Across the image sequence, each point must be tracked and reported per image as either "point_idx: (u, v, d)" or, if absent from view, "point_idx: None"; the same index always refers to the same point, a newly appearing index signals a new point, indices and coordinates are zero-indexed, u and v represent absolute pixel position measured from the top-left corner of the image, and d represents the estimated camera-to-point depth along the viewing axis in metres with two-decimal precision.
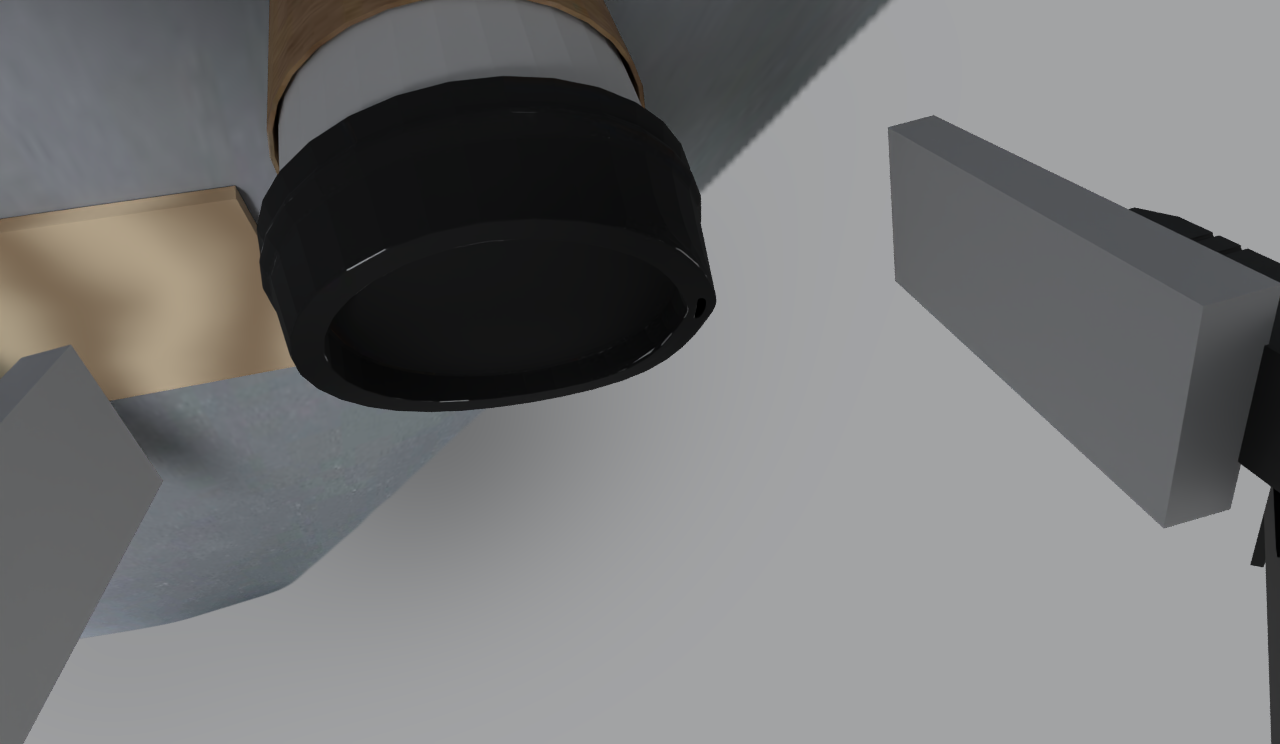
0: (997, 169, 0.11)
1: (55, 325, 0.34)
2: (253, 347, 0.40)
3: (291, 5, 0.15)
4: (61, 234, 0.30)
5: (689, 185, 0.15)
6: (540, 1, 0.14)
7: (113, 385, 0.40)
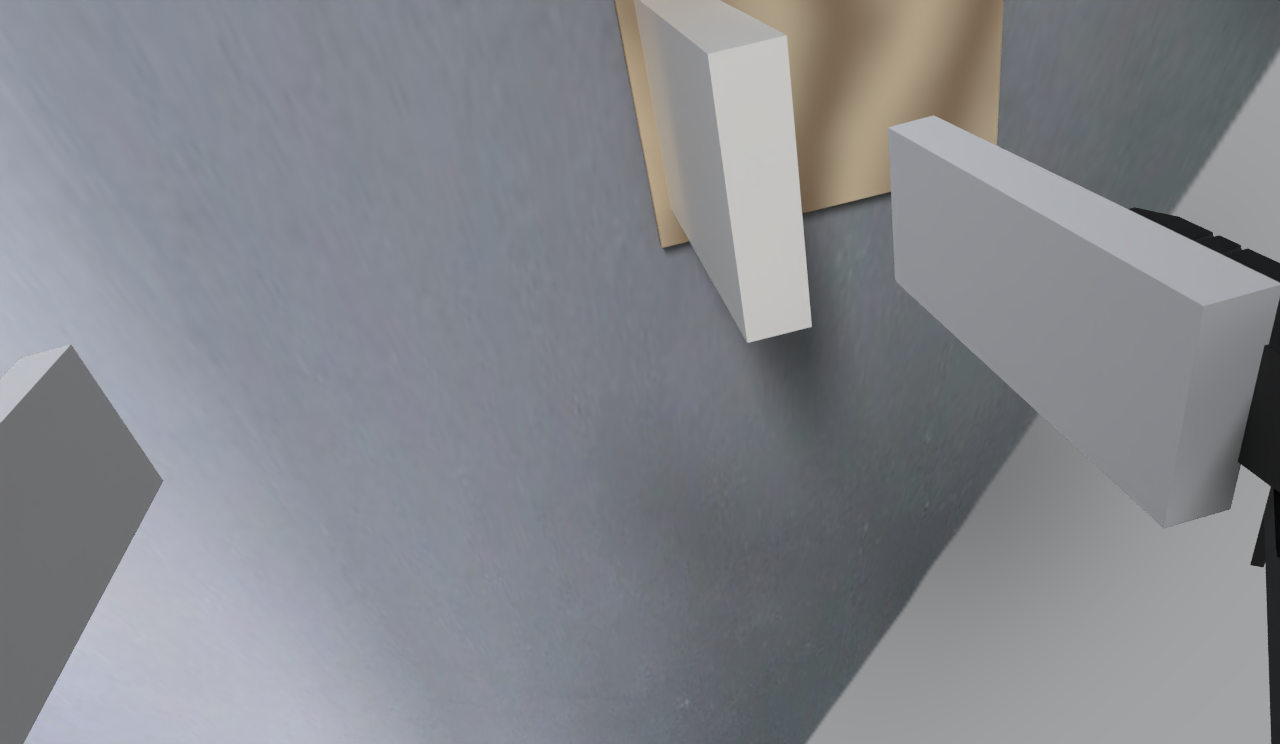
0: (997, 169, 0.11)
1: (815, 57, 0.38)
2: None
3: None
4: None
5: None
6: None
7: (816, 181, 0.42)
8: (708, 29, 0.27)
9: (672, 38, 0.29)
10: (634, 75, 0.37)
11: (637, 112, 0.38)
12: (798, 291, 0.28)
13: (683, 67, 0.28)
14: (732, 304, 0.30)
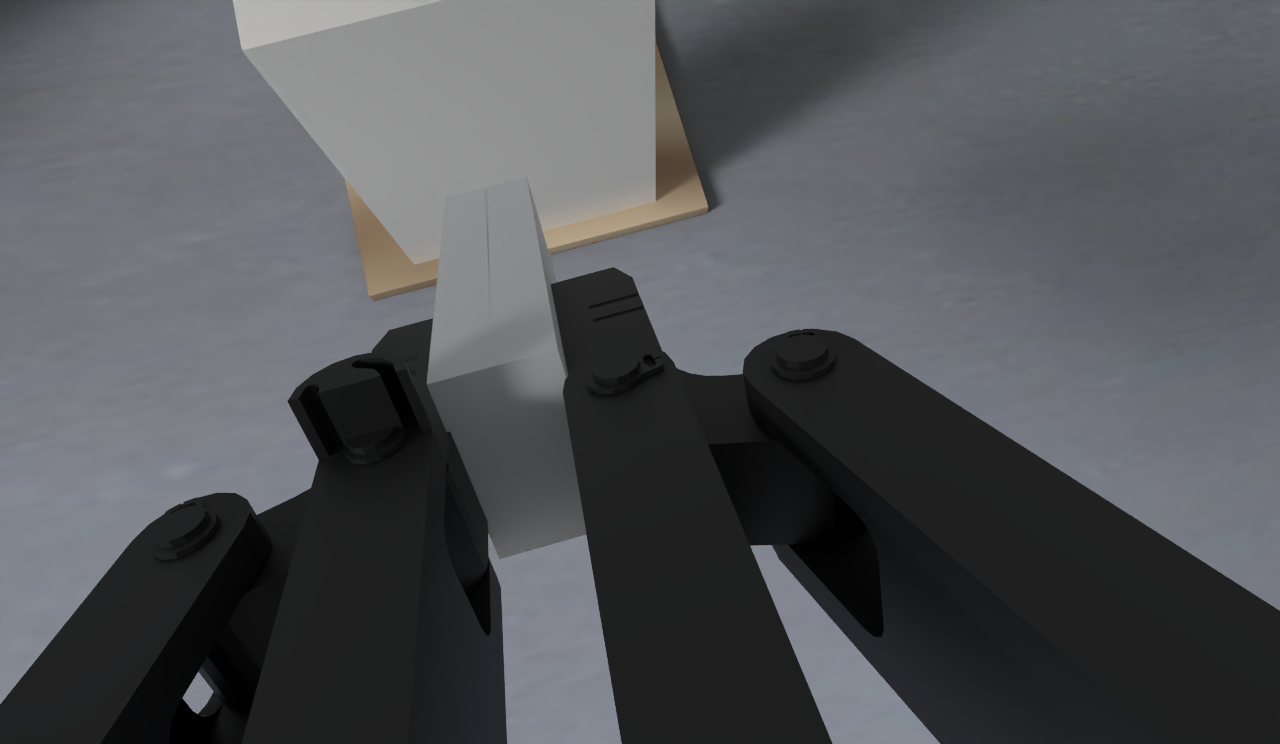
0: (507, 233, 0.12)
1: None
2: None
3: None
4: None
5: None
6: None
7: None
8: None
9: (348, 160, 0.25)
10: None
11: None
12: None
13: (357, 132, 0.23)
14: (628, 3, 0.21)
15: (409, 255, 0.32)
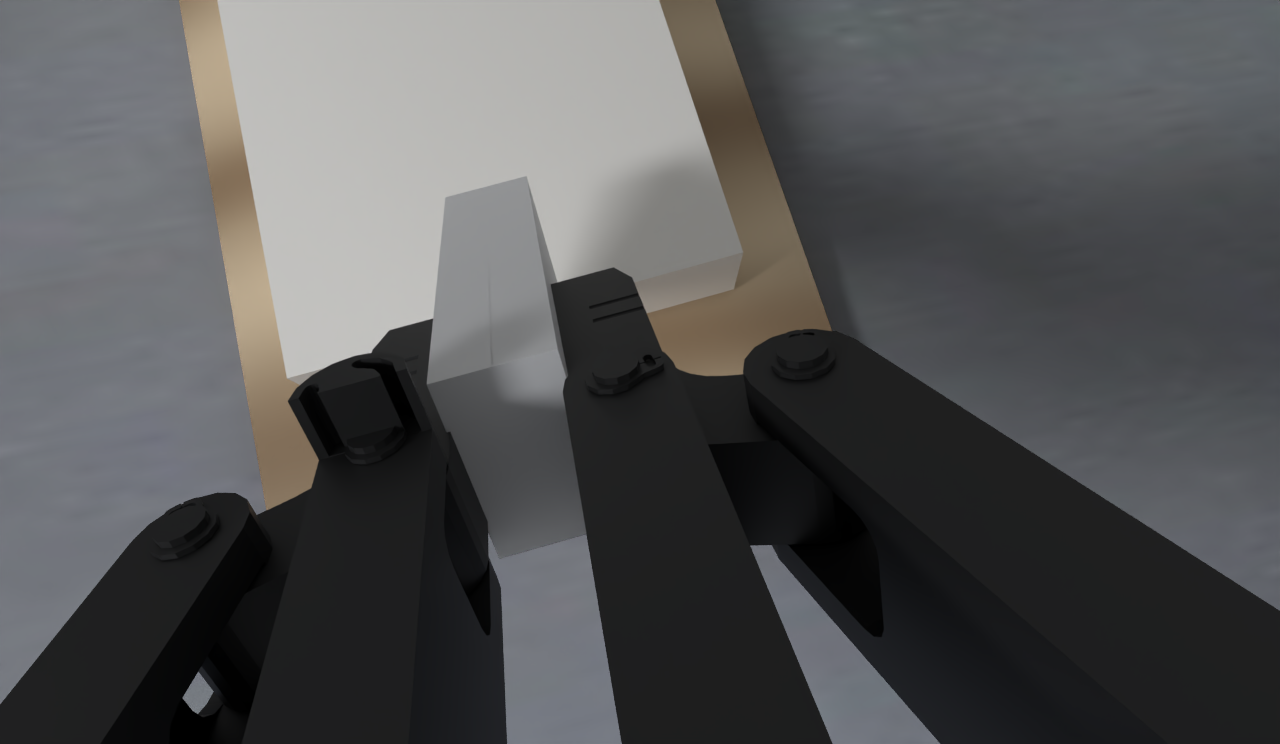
0: (508, 233, 0.12)
1: None
2: None
3: None
4: (221, 114, 0.22)
5: None
6: None
7: None
8: None
9: (244, 35, 0.19)
10: None
11: None
12: None
13: None
14: None
15: (282, 335, 0.17)
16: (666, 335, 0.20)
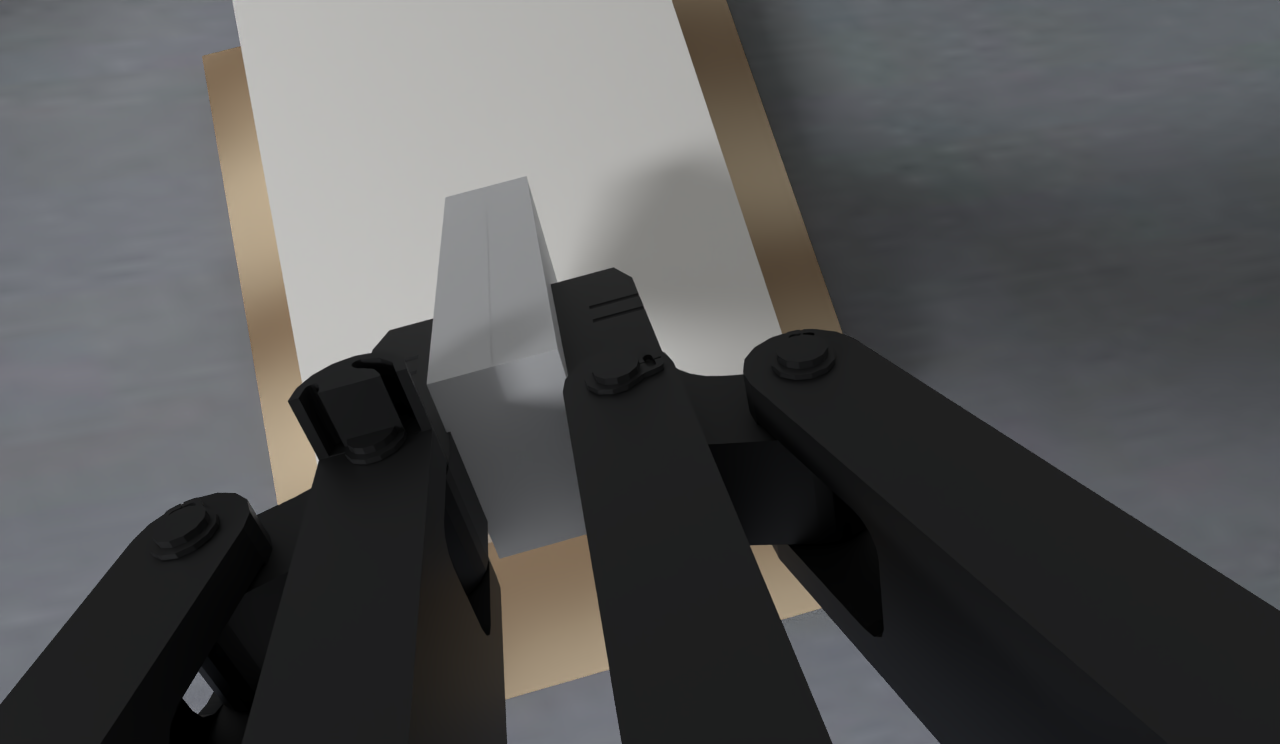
0: (508, 233, 0.12)
1: None
2: None
3: None
4: (259, 257, 0.21)
5: None
6: None
7: None
8: None
9: (289, 193, 0.18)
10: (553, 674, 0.18)
11: None
12: None
13: (311, 134, 0.19)
14: None
15: None
16: None
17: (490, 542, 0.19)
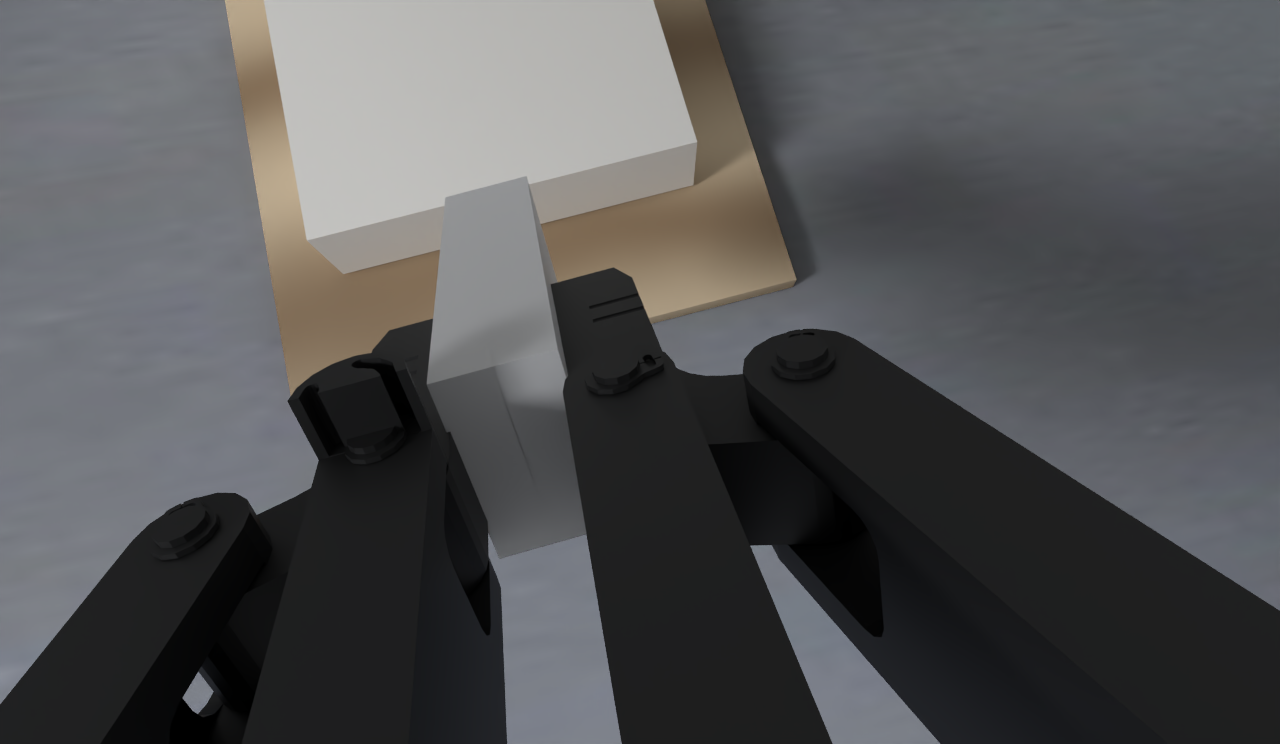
0: (507, 233, 0.12)
1: None
2: None
3: None
4: (249, 31, 0.25)
5: None
6: None
7: None
8: None
9: None
10: None
11: None
12: None
13: None
14: None
15: (303, 205, 0.20)
16: (634, 224, 0.23)
17: (436, 248, 0.23)
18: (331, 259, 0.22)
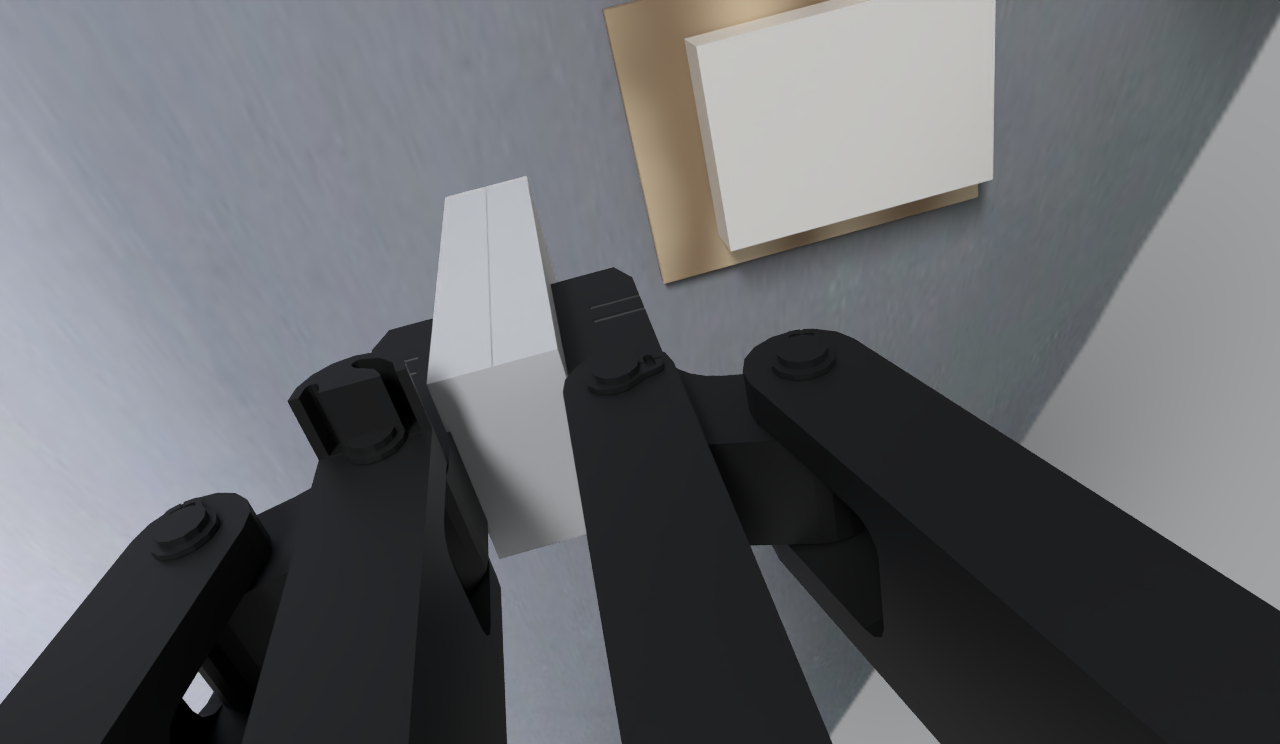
0: (507, 233, 0.12)
1: None
2: None
3: None
4: None
5: None
6: None
7: None
8: None
9: (878, 9, 0.37)
10: (633, 125, 0.40)
11: (637, 159, 0.41)
12: None
13: (906, 19, 0.37)
14: (960, 175, 0.41)
15: (717, 42, 0.36)
16: (700, 204, 0.42)
17: (694, 96, 0.39)
18: (689, 43, 0.37)
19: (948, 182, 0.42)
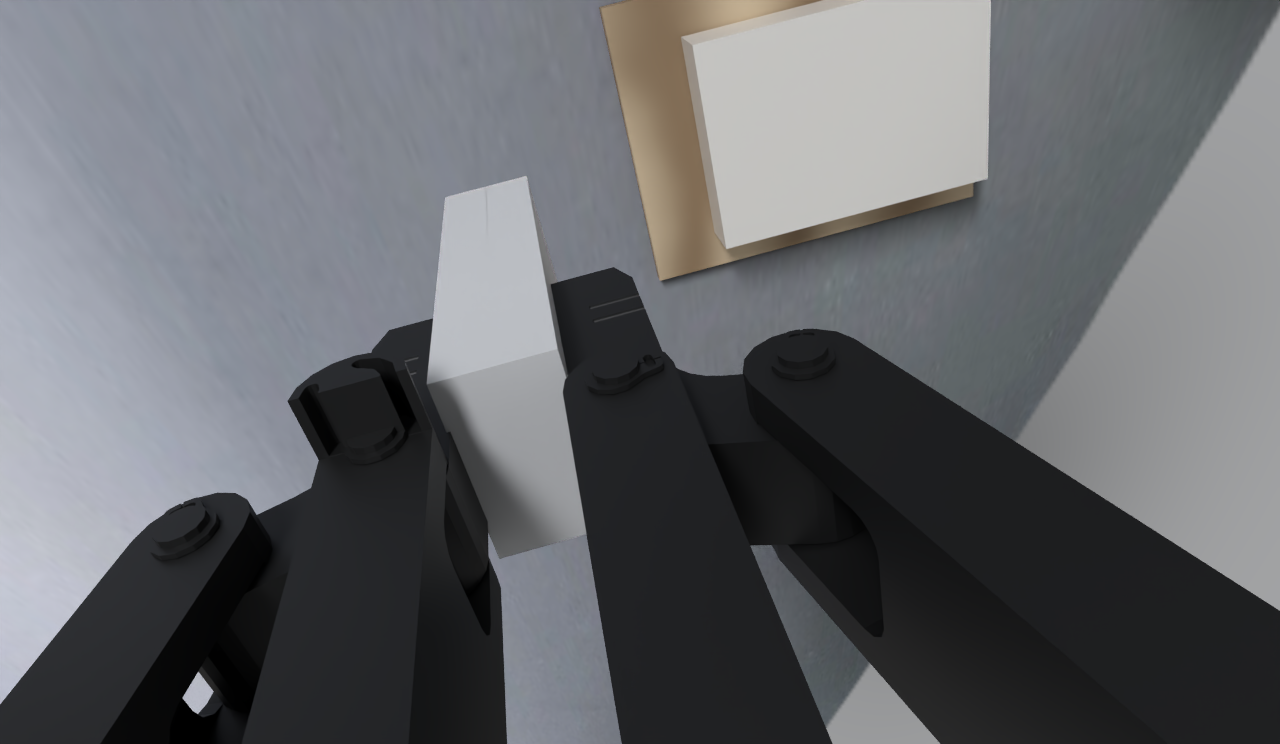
0: (507, 233, 0.12)
1: None
2: None
3: None
4: None
5: None
6: None
7: None
8: None
9: (874, 9, 0.37)
10: (630, 123, 0.40)
11: (634, 156, 0.41)
12: None
13: (902, 19, 0.37)
14: (955, 174, 0.42)
15: (713, 41, 0.36)
16: (696, 201, 0.43)
17: (691, 94, 0.40)
18: (686, 42, 0.38)
19: (943, 181, 0.42)
